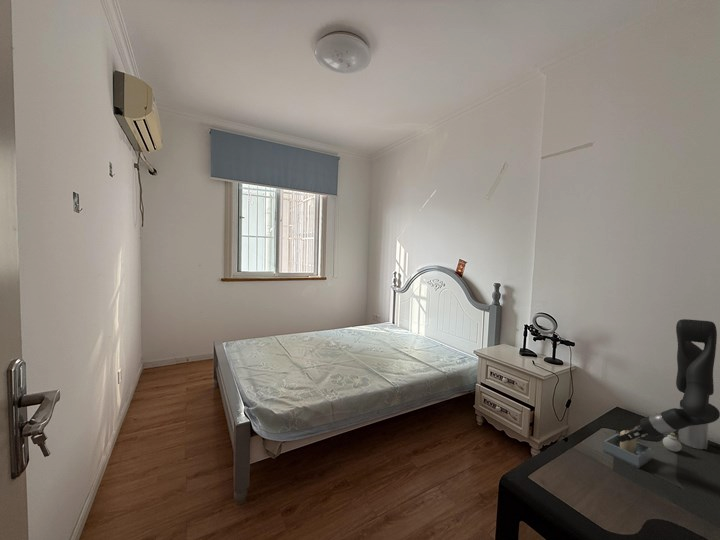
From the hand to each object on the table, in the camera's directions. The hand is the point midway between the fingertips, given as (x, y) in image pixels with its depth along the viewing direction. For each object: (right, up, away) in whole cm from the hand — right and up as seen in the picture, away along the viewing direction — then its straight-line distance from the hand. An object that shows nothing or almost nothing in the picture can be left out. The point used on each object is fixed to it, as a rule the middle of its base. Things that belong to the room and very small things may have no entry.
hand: (623, 437), depth 134 cm
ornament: (+26, -8, +2) cm, 27 cm away
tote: (+1, -8, -1) cm, 8 cm away
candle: (+1, -7, -1) cm, 7 cm away
